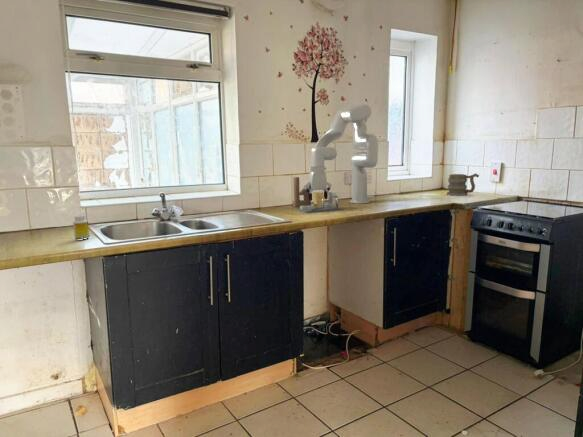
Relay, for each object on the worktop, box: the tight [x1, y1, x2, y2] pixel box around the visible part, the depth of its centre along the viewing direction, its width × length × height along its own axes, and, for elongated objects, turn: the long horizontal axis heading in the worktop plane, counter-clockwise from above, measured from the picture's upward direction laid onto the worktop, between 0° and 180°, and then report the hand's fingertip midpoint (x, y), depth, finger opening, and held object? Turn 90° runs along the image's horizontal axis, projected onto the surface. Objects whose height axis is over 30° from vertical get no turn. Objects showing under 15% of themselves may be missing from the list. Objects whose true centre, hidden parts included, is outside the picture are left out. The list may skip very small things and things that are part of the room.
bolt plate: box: [296, 205, 342, 214], centre depth 252 cm, size 22×13×1 cm, turn 114°
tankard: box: [446, 173, 480, 197], centre depth 301 cm, size 20×13×15 cm, turn 55°
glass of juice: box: [72, 214, 90, 240], centre depth 186 cm, size 6×6×10 cm
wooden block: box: [292, 176, 312, 208], centre depth 267 cm, size 4×11×18 cm, turn 113°
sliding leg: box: [312, 191, 326, 208], centre depth 250 cm, size 4×9×8 cm, turn 24°
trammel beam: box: [299, 191, 340, 209], centre depth 250 cm, size 21×9×8 cm, turn 114°
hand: (318, 199), depth 252 cm, fingers open, 9 cm apart
